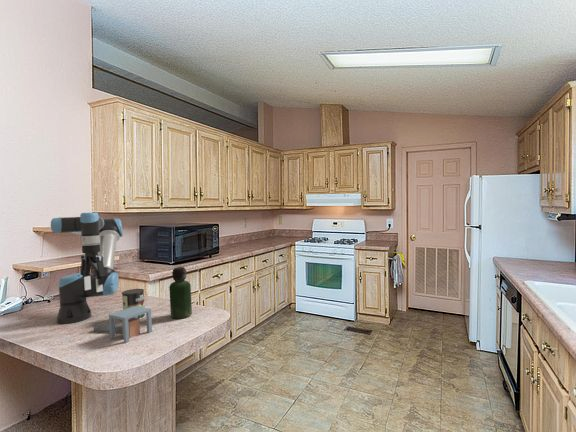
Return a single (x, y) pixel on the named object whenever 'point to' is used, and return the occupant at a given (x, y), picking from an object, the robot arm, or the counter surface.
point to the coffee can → (133, 299)
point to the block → (133, 327)
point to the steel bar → (107, 328)
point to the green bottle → (180, 295)
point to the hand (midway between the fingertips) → (93, 290)
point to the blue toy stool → (125, 316)
